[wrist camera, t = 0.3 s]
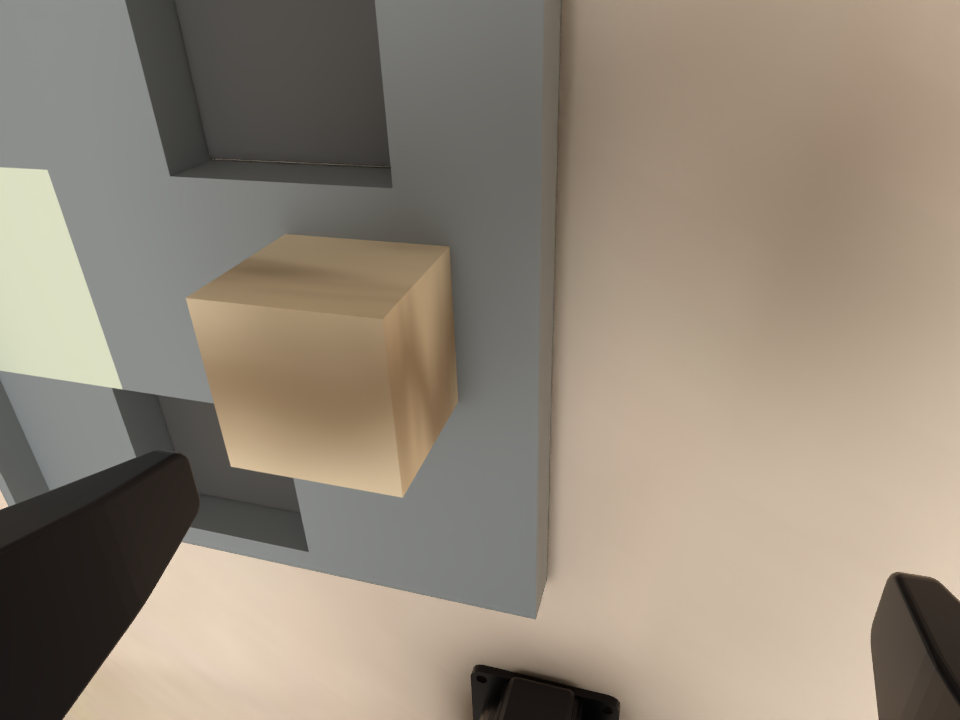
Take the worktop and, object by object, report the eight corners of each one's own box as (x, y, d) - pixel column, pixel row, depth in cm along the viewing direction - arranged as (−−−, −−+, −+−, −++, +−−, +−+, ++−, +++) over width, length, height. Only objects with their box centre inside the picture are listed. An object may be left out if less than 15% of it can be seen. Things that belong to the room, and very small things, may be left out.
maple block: (458, 401, 21) (402, 497, 17) (311, 381, 22) (231, 466, 19) (449, 246, 18) (382, 319, 15) (285, 234, 20) (185, 298, 16)
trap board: (565, -169, 15) (529, -198, 12) (546, 577, 26) (526, 654, 24) (-156, -106, 21) (-297, -116, 18) (85, 485, 32) (23, 536, 29)
